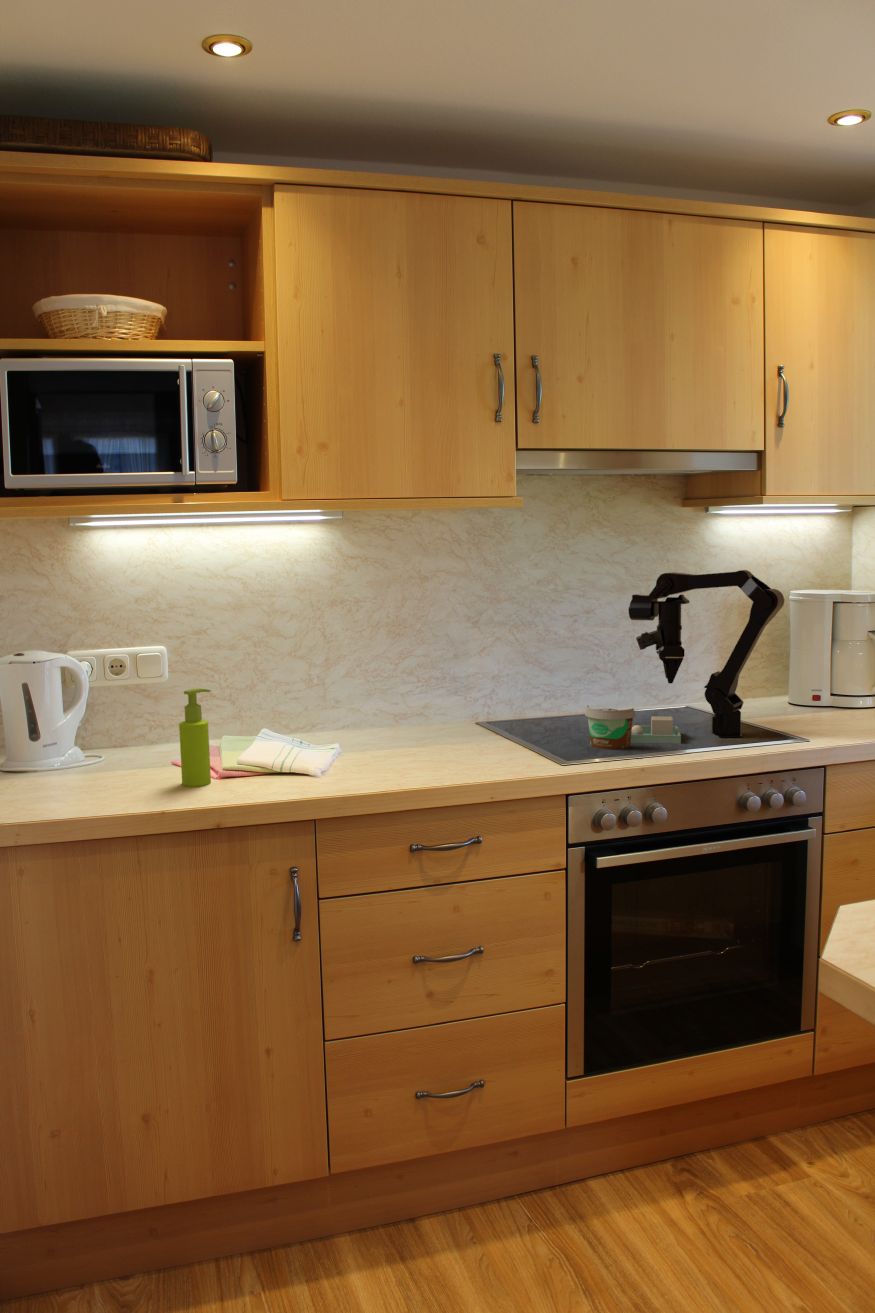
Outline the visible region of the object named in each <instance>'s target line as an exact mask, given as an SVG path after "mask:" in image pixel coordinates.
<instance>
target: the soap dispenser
mask: <svg viewBox="0 0 875 1313" xmlns="http://www.w3.org/2000/svg"><path fill="white" fill-rule="evenodd" d="M210 692H211V689H206V688H191V689H188V690H183V694H184V695H187V697H188V698H187V700H188V701H187V702H188V703H187V704H186V705H185V706H184V721H183V720H182V721H181V722H179V723H178V726H179V731H178V732H179V746H180V748H179V749H180V764H181V765H180V766H181V769H180V770H181V785H182V786H183V787H186V788H188V787H189V788H193V787H195V788H196V787H197V788H198V787H204V786H207V785H211V784H212V779H211V777H212V776H211V757H210V756H211V755H210V738H209V737H210V736H209V735H210V734H209V721H208V720H205V719H202V717H203V716H202V705H201V704H199V703H197V702H198V700H197V694H200V693H210Z"/></svg>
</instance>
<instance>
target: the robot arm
mask: <svg viewBox="0 0 875 1313" xmlns="http://www.w3.org/2000/svg"><path fill="white" fill-rule="evenodd" d="M725 587H726V588H727V587H728V588H731V587H738V588H739V589H740V590H741V591H742V592H743V593H744V594H745V596H746V597H747V598H748V599H750V600H751V602H752V604H751V607H750V612H749V617H748V622H746V625H745V627H744V629H743V631H742V632H741V635H740V636H739V638H738V640H737V642H736V644H735V646H734V648H733V649H732V652H731V653H730V655H729V657H728V659H727V661H726V662H725V664H724V667H723V669H722V670H721V671H719V670H718V671H716V672H713V673H711V675H710V676H709V680H708V681H707V682H708V683H707V684H705V685H704V687H703V689H705V691H704V697H705V700H706V702H707V703H708V704H709V705H710V707H711V710H712V713H713V715H711V720H710V721H711V722H710V723H711V724H710V725H711V726H710V728H711V729H710V731H711V732H710V733H712V734H714V736H718V737H719V738H742V736H743V735H742V733H741V731H742V730H741V727H742V726H741V725H742V723H741V722H742V711H740V710H741V709H742V708H743V704H744V700H743V699H742V698H740V696H739V695H737V693H736V692H737V688H738V684H739V678H740V677H739V676H740V674H741V672H742V670H743V668H744V667H745V665H746V663H747V661H748V660H749V657H750V656H751V654H752V652H753V650H754V648H755V646H756V645H757V643H758V640H759V639H760V637H761V635H762V633H763V632H764V630H765V628H766V626H767V625H768V624H769V623H770V622H772V620H773V619H774V618H775V617H776V615H778V613H779V612H780V610H781V609H782V608H783V607H784V605H785V597H784V595H783V593H782V592H781V591H780V590H778V589H776V588H771V587H770V586H769V585H767V584H766V583H765V582H764V581H762V580H761V579H759V578H758V577H756V576H755V575H754V574H753V573H751V571H750V570H747V569H742V570H740V569H739V570H737V571H728V572H726V571H725V572H717V573H716V572H715V573H703V574H691V573H686V572H685V573H684V572H676V571H675V572H664V573H661V574H660V575H659V576H658V577H657V579H656V581H655V585H654V588H653V589H652V590H651V591H650V593H649V594H647V595H645V594H644V595H643V594H638V593H636V594H632V595H631V600H630V602H629V607H628V615H629V618H630V620H631V621H651V622H652V621H654V620H655V618H658V622H657V623H658V624H657V625H656V630H653V631H650V632H647V631H645V632H644V633H643V632H642V633H641V634H640V635H638V636H636V637H635V639H636V642H637V645H638V647H639V650H645V649H646V648H648V647H651V646H654V645H655V651H656V654H657V655H658V658H659V660H660V661H662V666H663V669H664V675H665V678H666V679H667V683H668V684H673V683H674V680H676V679H675V678H676V676H677V674H678V672H679V669H680V667H681V665H682V662H683V661H684V657H685V649H684V647H683V646H682V643H683V642H682V630H683V626H682V605H687V604H690V600H689V599H688V598H686V596H685V595H684V594H683V593H686V592H689V591H693V590H698V589H699V590H701V589H711V588H712V589H714V588H725ZM677 594H679V595H678V596H677V597H676V596H672V595H677ZM670 596H671V597H670ZM665 598H666V599H665ZM659 599H665V600H659Z"/></svg>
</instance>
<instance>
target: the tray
mask: <svg viewBox="0 0 875 1313" xmlns="http://www.w3.org/2000/svg"><path fill="white" fill-rule="evenodd" d="M633 726H634V725H632V727H633ZM640 726H641V727H642V729H643V735H634V734H632V732H631V740H630V744H667V745H668V744H671V745H673V744H674V745H675V744H676V745H677V744H679V745H681V744H682V735H681V732H680V730H679V727H678V725H673V735H651V725H640Z"/></svg>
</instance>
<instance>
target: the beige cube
mask: <svg viewBox="0 0 875 1313" xmlns="http://www.w3.org/2000/svg"><path fill="white" fill-rule="evenodd" d="M650 717H651V718H650V721H651V722H650V726H651V735H673V726H674V718H673V716H659V715H657V716H656V715H655V716H650Z"/></svg>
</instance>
